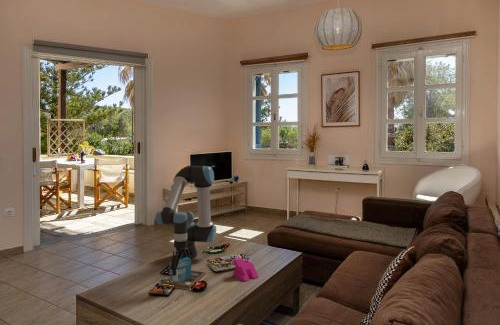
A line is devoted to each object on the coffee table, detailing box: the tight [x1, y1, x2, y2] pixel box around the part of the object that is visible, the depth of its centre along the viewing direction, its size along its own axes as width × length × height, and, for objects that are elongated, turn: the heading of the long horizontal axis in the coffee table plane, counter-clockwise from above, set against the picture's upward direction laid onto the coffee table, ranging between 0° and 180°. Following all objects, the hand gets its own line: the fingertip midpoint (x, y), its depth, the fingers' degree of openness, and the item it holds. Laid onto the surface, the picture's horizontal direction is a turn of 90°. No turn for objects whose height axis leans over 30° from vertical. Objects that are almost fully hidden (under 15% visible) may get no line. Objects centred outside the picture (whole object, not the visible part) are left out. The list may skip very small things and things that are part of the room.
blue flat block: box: [169, 257, 192, 283], centre depth 217 cm, size 12×4×12 cm, turn 138°
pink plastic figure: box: [232, 257, 260, 282], centre depth 230 cm, size 12×10×10 cm
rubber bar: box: [191, 273, 200, 278], centre depth 227 cm, size 4×12×2 cm, turn 72°
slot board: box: [162, 269, 208, 291], centre depth 222 cm, size 22×18×3 cm
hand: (180, 276), depth 217 cm, fingers open, 13 cm apart
